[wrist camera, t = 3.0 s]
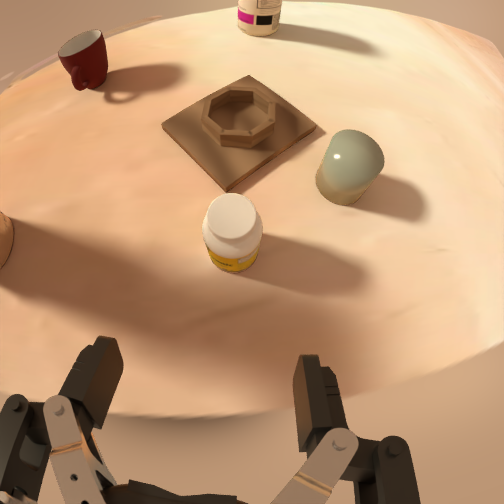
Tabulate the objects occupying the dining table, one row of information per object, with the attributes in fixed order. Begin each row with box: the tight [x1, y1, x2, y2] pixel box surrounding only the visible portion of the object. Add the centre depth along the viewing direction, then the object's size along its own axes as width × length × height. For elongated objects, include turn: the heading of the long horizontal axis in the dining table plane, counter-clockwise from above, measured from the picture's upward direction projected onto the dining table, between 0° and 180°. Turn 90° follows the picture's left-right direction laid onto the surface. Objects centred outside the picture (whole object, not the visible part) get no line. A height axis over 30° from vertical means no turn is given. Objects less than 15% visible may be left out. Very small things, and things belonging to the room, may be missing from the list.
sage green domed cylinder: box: [316, 130, 384, 205], centre depth 32 cm, size 6×6×7 cm
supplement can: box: [238, 0, 282, 36], centre depth 39 cm, size 8×8×15 cm
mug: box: [58, 30, 108, 91], centre depth 35 cm, size 11×8×10 cm
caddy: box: [161, 75, 316, 192], centre depth 36 cm, size 16×14×4 cm
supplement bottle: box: [202, 193, 263, 273], centre depth 28 cm, size 5×5×10 cm
